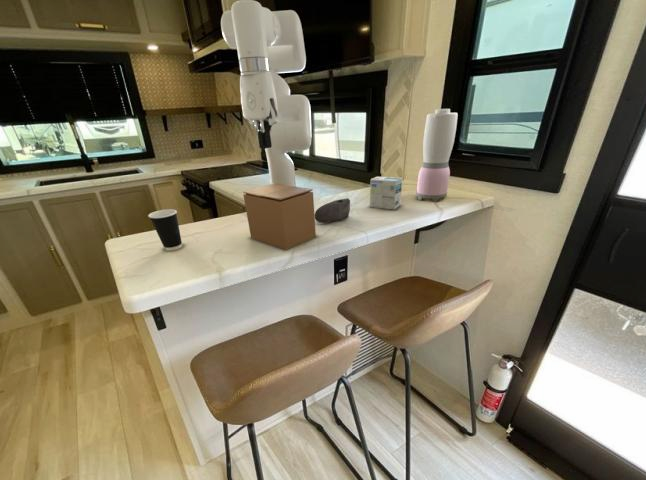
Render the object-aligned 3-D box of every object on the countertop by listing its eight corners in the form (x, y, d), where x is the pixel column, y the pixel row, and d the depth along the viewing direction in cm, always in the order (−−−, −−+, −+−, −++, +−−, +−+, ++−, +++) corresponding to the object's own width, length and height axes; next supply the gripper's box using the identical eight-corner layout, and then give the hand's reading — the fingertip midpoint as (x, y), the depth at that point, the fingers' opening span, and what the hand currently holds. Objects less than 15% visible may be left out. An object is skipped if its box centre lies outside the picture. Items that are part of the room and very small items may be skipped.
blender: (441, 202, 124) (456, 109, 107) (411, 199, 130) (421, 110, 113) (450, 193, 135) (465, 107, 118) (423, 191, 141) (433, 109, 124)
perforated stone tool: (318, 226, 107) (317, 206, 103) (311, 222, 111) (310, 203, 107) (355, 218, 112) (355, 199, 109) (347, 215, 116) (347, 196, 113)
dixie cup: (156, 248, 98) (144, 213, 92) (181, 240, 102) (170, 207, 97) (165, 254, 93) (153, 218, 87) (191, 246, 97) (180, 212, 92)
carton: (251, 238, 101) (242, 191, 93) (280, 227, 109) (275, 183, 101) (286, 249, 91) (280, 198, 83) (315, 236, 99) (312, 189, 91)
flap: (243, 193, 93) (242, 191, 93) (275, 184, 101) (275, 183, 101) (260, 197, 89) (260, 195, 88) (292, 187, 97) (292, 186, 96)
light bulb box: (400, 205, 123) (403, 177, 118) (394, 210, 119) (396, 180, 113) (375, 203, 128) (377, 175, 123) (369, 207, 124) (370, 179, 118)
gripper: (225, 71, 80) (239, 148, 90) (262, 64, 72) (272, 151, 82) (249, 71, 85) (259, 145, 95) (285, 65, 76) (293, 147, 86)
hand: (265, 147), depth 88 cm, fingers closed
